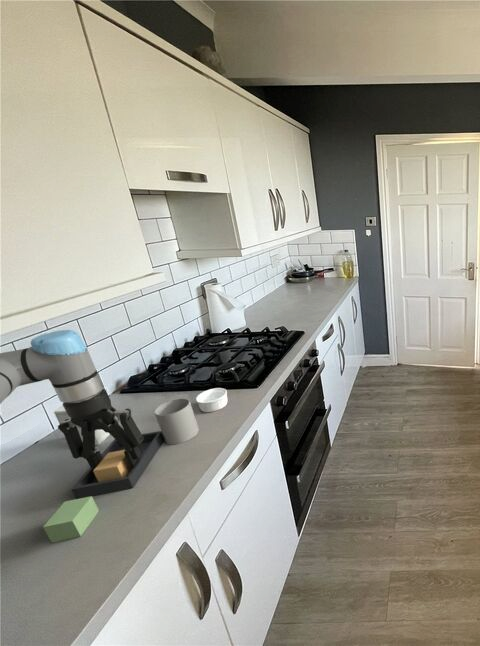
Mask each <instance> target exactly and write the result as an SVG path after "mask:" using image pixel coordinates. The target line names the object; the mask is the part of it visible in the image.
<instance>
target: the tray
mask: <svg viewBox="0 0 480 646" xmlns="http://www.w3.org/2000/svg"><path fill="white" fill-rule="evenodd" d="M141 434H142V436H143V437H144V440H143V441H142V442H141V444H140V445H139V446H138V449H139V452H140V456H139V460H138V462H137V463H136V465H135V466H134V467H133V469H131V470H130V472H129V473H128V475H127V476H126V477H123V478H118V479H113V480H107V481H102V482H98V480H97V478H96V476H95V474H94V472H93V470H94V469H95V468H91V467H90V466H89V468H88V469H87V470H86V472H85V473H84V474H83V475H82V476H81V477H80V478H79V480H78V481H77V482H76V483H75V484H74V485H73V486H72V488H71V489H70V490H71V492H72V494H73V496H74V498H75V499H80V498H85V497H90V496H92V497H95V496H100V495H105V494H110V493H115V492H120V491H125V490H129V489H133V488H135V486H136V484H137V483H138V481H139V480H140V478H141V477H142V476H143V474H144V472H146V469H147V468H148V466H149V465H150V463H151V462H152V460H153V458H154V457H155V455H156V454H157V452H158V451H159V449H160V448H161V447H162V445H163V443H164V442H165V440H164V437H163V434H162V432H161V430H159V431H153V432H148V433H147V432H146V433H141ZM121 450H126V449H125V448H124V447H123V446H122V445H121V444H120V443H119V442H118V441H117V440H116V439H115V438H113V440H112V441H111V443H110V444H109V445H108V446H107V447H106V448H105V449H104V451H103V452H101V454H102V456H103V458H104V457H105V456H106V455H107V454H108V453H110V452H115V451H121Z"/></svg>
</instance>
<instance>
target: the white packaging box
mask: <svg viewBox="0 0 480 646" xmlns="http://www.w3.org/2000/svg"><path fill="white" fill-rule="evenodd" d="M53 413H54V416H55V418H56V420H57V422H58V425H60V424H61V423H62V422H63V421H64V420H65V419H71V417H69V416H68V414H67V412H66V410H65V408H64V407H63V404H62V405H61V406H59V407H58V408H56V409H55V410H54V411H53ZM109 426H110V425H109ZM76 427H77V429H78V432H79V434H80V437H81V439H82V442H83V436H81V427H79V426H77V425H76ZM110 436H111V435H110V434H109V433H106V432H105V431H104V430H95V446H99V445H101V444H102V443H103V442H104V441H105V440H106V439H107V438H108V437H110Z"/></svg>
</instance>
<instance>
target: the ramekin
mask: <svg viewBox="0 0 480 646" xmlns="http://www.w3.org/2000/svg"><path fill="white" fill-rule="evenodd" d="M195 401H196V403H197V405H198V406H199V409H200V411H202V412H204V413H214V412H217V411H219V410H221V409H223V408H225V407H226V406H227V404H228V402H229V401H228V390H227V389H226V388H222V387H215V388H210V389H207V390H205V391H202V392H201V393H199V394H198V395H197V396H196V398H195Z"/></svg>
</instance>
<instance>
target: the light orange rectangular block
mask: <svg viewBox="0 0 480 646" xmlns="http://www.w3.org/2000/svg"><path fill="white" fill-rule="evenodd" d="M124 451H125V450H121V451H115V452H110V453H108V454H107V455H106V456H105V457H104V458H103V460H102V461H101V462H100V463H99V464H98V466H97V467H96V468H95V469H94V470H93V472H94V474H95V476H96V478H97V480H98V482H102V481H107V480H113V479H118V478H123V477H126V476H127V475H128V473H129V472H130V470H131V467H130V465H129V463H128V460H127V458H126V456H125V454H124Z"/></svg>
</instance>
